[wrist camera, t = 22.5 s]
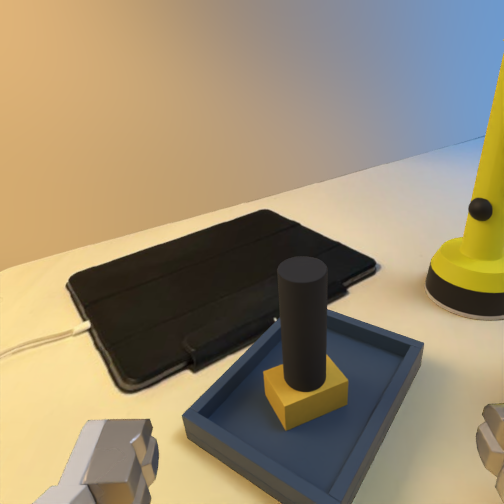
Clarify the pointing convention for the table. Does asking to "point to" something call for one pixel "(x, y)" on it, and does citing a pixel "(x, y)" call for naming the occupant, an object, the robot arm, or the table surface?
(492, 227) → the flashlight
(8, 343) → the table surface
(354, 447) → the tray
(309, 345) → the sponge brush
